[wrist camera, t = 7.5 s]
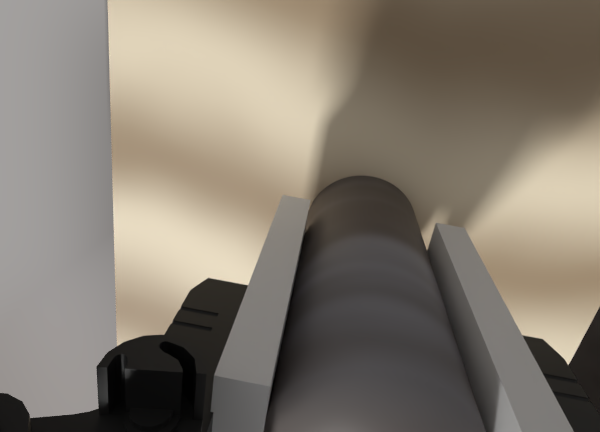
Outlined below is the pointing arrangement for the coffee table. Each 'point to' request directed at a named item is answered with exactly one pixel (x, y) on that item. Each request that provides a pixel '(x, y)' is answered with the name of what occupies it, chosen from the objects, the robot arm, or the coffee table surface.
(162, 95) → the lid
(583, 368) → the coffee table surface
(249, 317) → the robot arm
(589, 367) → the coffee table surface
